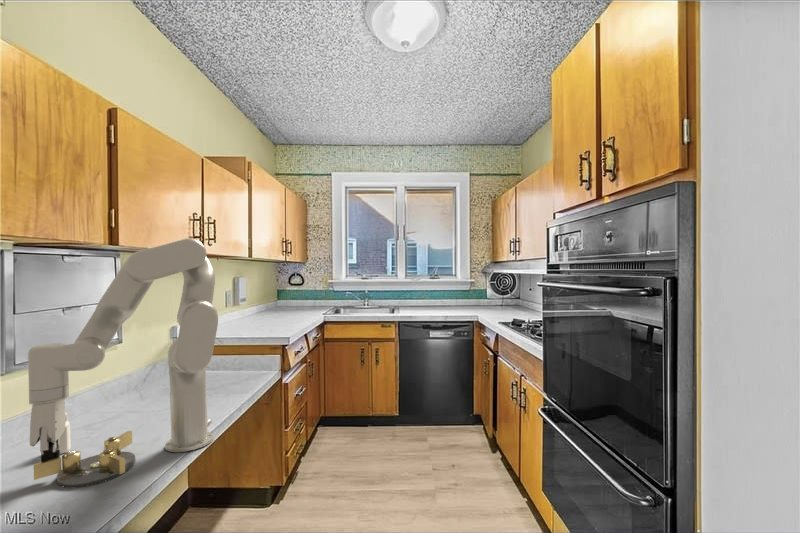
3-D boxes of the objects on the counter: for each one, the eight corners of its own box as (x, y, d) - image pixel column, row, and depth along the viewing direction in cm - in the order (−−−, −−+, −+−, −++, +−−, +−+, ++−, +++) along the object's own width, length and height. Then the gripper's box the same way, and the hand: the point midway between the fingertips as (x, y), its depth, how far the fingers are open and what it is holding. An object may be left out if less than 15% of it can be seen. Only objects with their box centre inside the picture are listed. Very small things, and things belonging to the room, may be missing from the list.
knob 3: (96, 470, 100) (95, 451, 100) (112, 464, 103) (112, 446, 103) (114, 478, 96) (113, 458, 96) (130, 471, 99) (130, 452, 99)
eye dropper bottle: (77, 446, 120) (76, 405, 121) (64, 454, 115) (64, 412, 115) (61, 447, 120) (60, 407, 120) (47, 456, 114) (46, 413, 114)
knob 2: (114, 458, 107) (114, 440, 107) (101, 458, 107) (100, 441, 107) (136, 444, 116) (136, 427, 116) (124, 444, 116) (123, 428, 116)
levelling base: (91, 458, 112) (90, 448, 112) (148, 456, 112) (148, 446, 112) (39, 488, 96) (38, 478, 96) (106, 486, 96) (105, 475, 96)
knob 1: (79, 465, 104) (79, 447, 104) (81, 469, 101) (81, 451, 101) (33, 478, 97) (33, 459, 98) (34, 483, 95) (33, 463, 95)
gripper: (39, 389, 106) (40, 459, 105) (18, 404, 92) (19, 485, 92) (75, 384, 109) (77, 453, 109) (60, 399, 96) (61, 476, 95)
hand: (50, 467), depth 100 cm, fingers closed
